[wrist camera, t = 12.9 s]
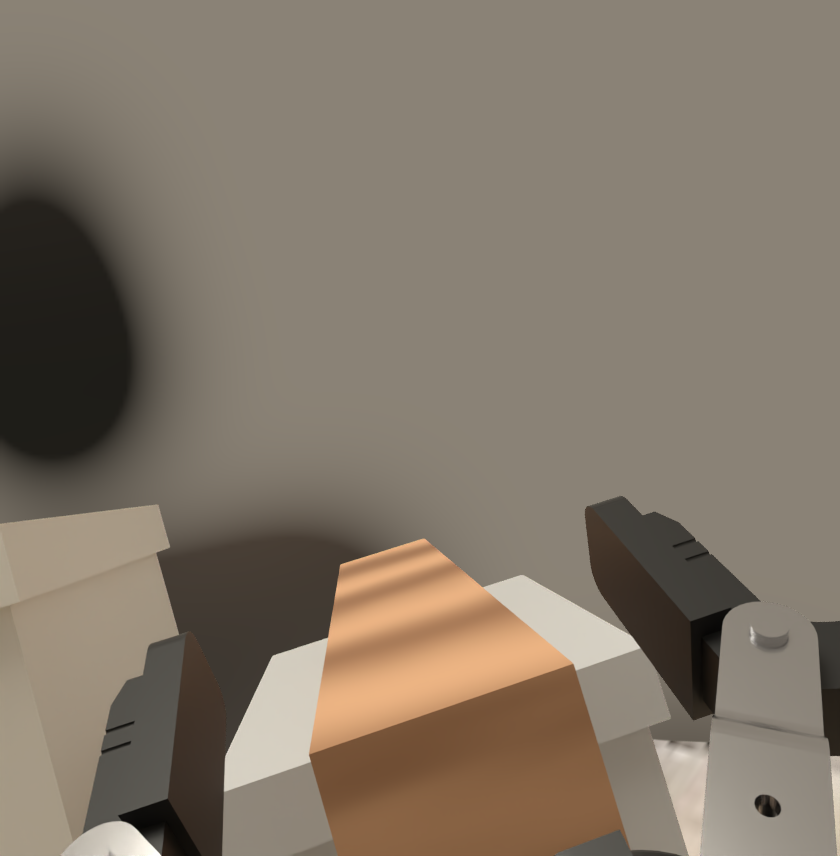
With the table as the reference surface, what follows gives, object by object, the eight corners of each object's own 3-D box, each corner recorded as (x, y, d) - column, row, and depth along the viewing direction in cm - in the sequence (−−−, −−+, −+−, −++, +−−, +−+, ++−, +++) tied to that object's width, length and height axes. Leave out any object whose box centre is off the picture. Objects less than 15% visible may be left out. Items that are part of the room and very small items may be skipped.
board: (635, 865, 10) (573, 663, 10) (369, 967, 10) (308, 754, 10) (442, 601, 32) (423, 538, 32) (359, 628, 31) (340, 564, 32)
